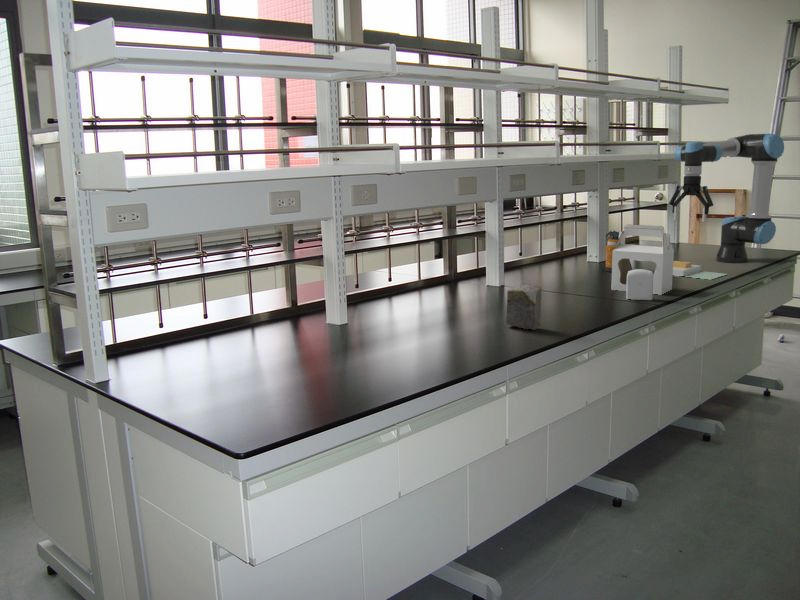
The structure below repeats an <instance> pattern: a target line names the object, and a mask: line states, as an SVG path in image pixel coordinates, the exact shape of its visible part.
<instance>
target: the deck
mask: <svg viewBox="0 0 800 600" xmlns="http://www.w3.org/2000/svg"><path fill="white" fill-rule="evenodd" d="M655 270H656V267H655ZM655 270H654V271H655ZM701 270H702V265H697V264H691V267H688V268H679V267H673V275H674V276H673V277H679V276H687V275H690V274H693V273H696V272H700V271H701ZM701 272H702V271H701Z"/></svg>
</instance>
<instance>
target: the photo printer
mask: <svg viewBox="0 0 800 600" xmlns="http://www.w3.org/2000/svg"><path fill="white" fill-rule="evenodd" d="M653 274H654V273H653V271H651V270H648V269H643V268H642V269H641V268H637V269H632V270H631V271H628V274H627V285H626V286H627V287H626V292H625V297H626V300H627V299H631V300H632V301H637V300H638V301H653V298H654V295H653ZM631 300H630V301H631Z"/></svg>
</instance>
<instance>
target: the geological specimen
mask: <svg viewBox="0 0 800 600" xmlns="http://www.w3.org/2000/svg"><path fill="white" fill-rule="evenodd" d="M506 295H507V296H506V320H505V322H506V323H505V325H507V326H510V327H511V326H512V327H513V326H514V327H517V328H519V329H521V328H523V329H522V330H528V329H531V330H533V331H536V330H537V329H539V327H540V326H541V317H542V316H541V315H542V314H541V313H542V312H541V311H542V310H541V308H542V307H541V306H542V304H541V301H542V286H541V287H540V286H539V285H531V284H527V285H525V284H522V285H516V286H512V287H510V288H508V290H507V293H506ZM531 330H530V331H531Z"/></svg>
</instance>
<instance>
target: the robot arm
mask: <svg viewBox="0 0 800 600" xmlns="http://www.w3.org/2000/svg"><path fill="white" fill-rule="evenodd" d="M784 150H785V142H784V140H783V138H782V137H781V136H780V135H779V134H777V133H754V134H753V133H752V134H750V133H749V134H743V135H740V136H735V137H731V138H727V139H726V140H722V141H714V142H708V143H707V142H706V143H704V142H703V141H688V142H686V143H685V145H679V146H677V147H676V148H675V150H674V153H673V154H674V155H673V156H674V159H675V160H676V161H678V162H682V163H683V162H684V170H683V174H684V176H683V185H680V184H679V185H676V186H675V187H676V188H675V192H673V195H672V197H671V198H670V200H669V202H668V205H670V206H671V207H672V214H673V221H678V220H679V219H678V218H679V206H678V205H679V204H680V203H681V201H683V199H684V198H686V197H687V196H692V197H693V196H695V197H697V199H698V200H699V201H700V203H701V204H702V205H703V207H702V217H701V222H703V223H705V222H707V216H708V215H709V213H710V212H709V211H710V208H711V207H714V203H713V200H712V198H711V196H710V193H709V191H708V190H709V189H708V186H707V185H704V186H702V185H701V183H702V167H703V163H709V162H710V163H714V162H718V161H720V159H722V158H723V157H729V158H748V159H749V158H750V159H751V160H750V161H751V162H750V163H752V165H753V173H752V185H751V195H750V206H749V213H748V214H747V215H743V216H742V215H741V216H731V217H724V218H723V219H722V223H721V234H720V246H719V249H718V252H717V253H716V257H715V260H716V261H717V262H723V263H732V264H733V263H747V262H748V261H749V260H748V259H749V255H748V253H747V249H746V243H749V244H756V245H767V244H768V243H770V242H771V241H772V240H773V239H774V237H775V235H776V231H777V227H776V224H775V222H773V221H772V219H773V218H772V216H771V215H770V214H769V211H770V204H771V192H772V191H771V190H772V182H773V174H774V173H773V171H774V170H773V169H774V165H775V164H777V163H778V159H779V158H781V156H783V154H784V152H785V151H784ZM681 191H683V192H682V193H681V194H680V192H681ZM700 191H702V193H703V195H704V196H703V195H702V193H701V192H700ZM679 194H680V196H679ZM678 196H679V197H678Z"/></svg>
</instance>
